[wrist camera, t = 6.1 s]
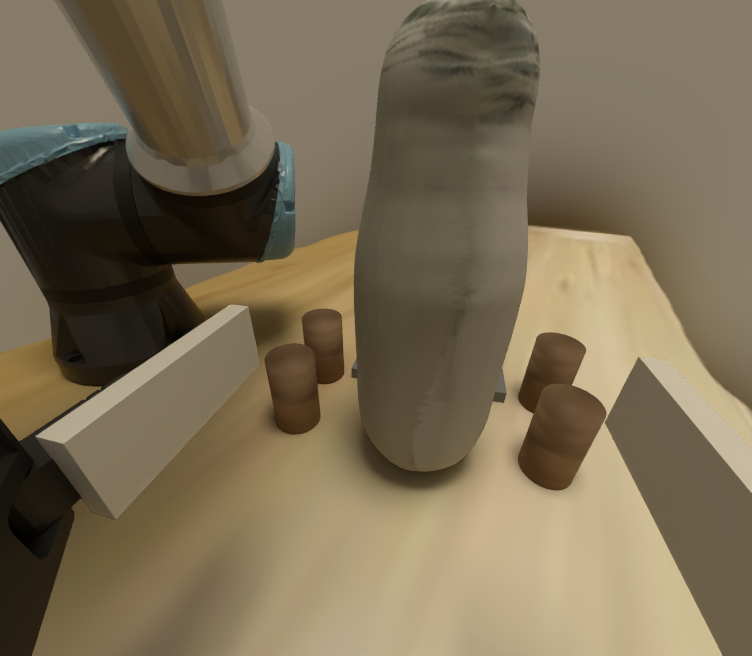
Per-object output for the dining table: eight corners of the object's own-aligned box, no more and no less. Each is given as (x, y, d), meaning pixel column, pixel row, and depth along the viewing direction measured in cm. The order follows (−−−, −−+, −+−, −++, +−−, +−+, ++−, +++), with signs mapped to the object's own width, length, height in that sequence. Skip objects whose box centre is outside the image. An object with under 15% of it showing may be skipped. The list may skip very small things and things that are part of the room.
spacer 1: (272, 410, 31) (260, 350, 27) (312, 397, 32) (305, 339, 29) (283, 440, 28) (270, 377, 24) (326, 424, 29) (320, 362, 26)
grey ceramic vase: (499, 479, 25) (676, -44, 11) (370, 508, 23) (376, -95, 8) (446, 394, 33) (506, 36, 19) (348, 409, 31) (333, 20, 17)
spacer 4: (507, 457, 27) (529, 394, 23) (539, 439, 28) (564, 377, 25) (550, 499, 24) (582, 432, 20) (583, 475, 25) (618, 411, 22)
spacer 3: (509, 396, 33) (527, 338, 29) (535, 384, 35) (555, 328, 31) (543, 422, 30) (567, 361, 26) (570, 407, 32) (595, 349, 28)
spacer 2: (303, 367, 37) (296, 313, 33) (336, 358, 38) (332, 305, 35) (315, 388, 34) (309, 331, 30) (349, 377, 35) (347, 321, 32)
